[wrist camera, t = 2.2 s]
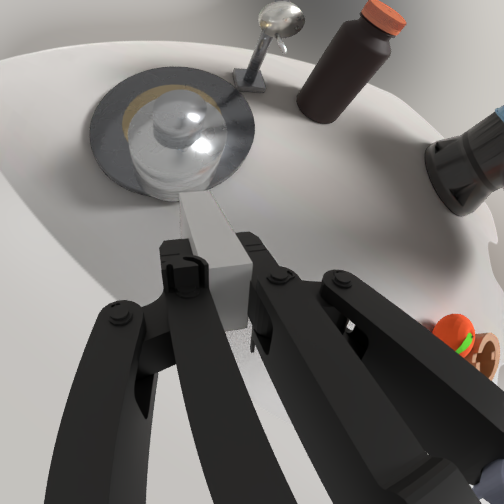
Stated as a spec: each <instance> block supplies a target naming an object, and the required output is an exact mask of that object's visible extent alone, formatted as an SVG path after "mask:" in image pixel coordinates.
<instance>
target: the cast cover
mask: <svg viewBox="0 0 504 504" xmlns="http://www.w3.org/2000/svg"><path fill="white" fill-rule="evenodd" d="M226 140H227V126H226V123H225V120H224V118H223V117H222V115H221V114H220V112H219V111H218V110H217V109H216V108H215V107H214V106H212V105H211V104H210V103H208V102H206V101H204V99H203V98H202V97H201V96H200V95H198V94H196V93H195V92H192V91H189V90H172V91H169V92H166V93H164V94H162V95H161V96H160V97H158V98H157V99H155V100H152V101H151V102H149V103H147V104H146V105H144V106H143V107H142V108H141V109H139V110H138V111H137V113H136V114H135V115H134V117H133V118H132V120H131V122H130V125H129V128H128V143H129V149H130V155H131V160H132V166H133V171H134V176H135V178H136V181H137V183H138V184H139V186H140V187H141V188H142V189H143V190H144V191H145V192H146V193H148V194H149V195H150V196H152V197H154V198H157V199H160V200H164V201H172V202H174V201H180V199H179V193H183V192H197V191H204V190H205V189H206V188H207V187H208V186H209V185H210V183H211V182H212V180H213V178H214V176H215V173H216V170H217V167H218V164H219V161H220V158H221V155H222V152H223V149H224V146H225V143H226Z"/></svg>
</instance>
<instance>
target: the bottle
mask: <svg viewBox="0 0 504 504" xmlns="http://www.w3.org/2000/svg"><path fill="white" fill-rule="evenodd" d="M360 16H361V17H360V18H359V20H352V21H346V22H344V23H343V24H342V26H341V27H340V29H339V30H338V32H337V33H336V35H335V36H334V38H333V39H332V41H331V43H330V44H329V46H328V47H327V49H326V50H325V52H324V54H323V55H322V57H321V58H320V60H319V62H318V63H317V65H316V66H315V68H314V69H313V71H312V73H311V74H310V76H309V77H308V79H307V81H306V82H305V84H304V86H303V87H302V89H301V90H300V92H299V94H298V95H297V104H298V107H299V108H300V109H301V111H302V112H303V113H304V114H305V115H306V116H307V117H309V118H310V119H312V120H314V121H316V122H319V123H324V124H328V123H332V122H334V121H335V120H336V119H337V118H338V117H339V116H340V114H341V113H342V112H343V111H344V110H345V108H346V107H347V106H348V105H349V104H350V102H351V101H352V100H353V99H354V98H355V97H356V95H357V94H358V93H359V92H360V91H361V89H362V88H363V87H364V86H365V85H366V84H367V82H368V81H369V80H370V79H371V78H372V77H373V75H374V74H375V73H376V71H378V69H379V68H380V67H381V66H382V65H383V64H384V63H385V61H386V60H387V59H388V58H389V56H390V54H391V48H390V43H389V40H390V39H391V38H394V37H395V36H396V35H398V34H399V32H400V31H401V30H402V29H403V28H404V26H405V25H406V22H405V20H404V18H403V17H402V16H401V15H399V14H398V13H397V12H396V11H395V10H393V9H392V8H391V7H389V6H387V5H386V4H384V3H382V2H380V1H378V0H368V2H367V3H366V5H365V6H364V8H363V9H362V11H361V13H360Z"/></svg>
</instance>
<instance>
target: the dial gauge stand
mask: <svg viewBox="0 0 504 504" xmlns="http://www.w3.org/2000/svg"><path fill="white" fill-rule="evenodd" d="M258 21H259V24H260V27H261V29H262V32H261V35H260V37H259V40H258V42H257V45H256V47H255V50H254V52H253V55H252V57H251V60H250V63H249V65H248V68H247V69H235V68H234V70H233V77H234V82H235V86H236V89H237V90H238V91H248V92H263V93H264V91H265V89H266V87H265V83H264V80H263V77H262V74H261V71H260V70H259V69H260V67H261V65H262V62H263V60H264V58H265V55H266V53H267V50H268V48H269V46H270V44H271V42H272V39H273V38H276V40H277V42H278V44H279V47H280V49H281V51H282V53H284V54H285V53H287V49H286V47H285V45H284V43H283V41H282V38H287V37H291V36H293V35H295V34H297V33H298V32H299V31H300V30H301V29H302V28H303V26H304V23H305V18H304V15H303V14H302V12H301V10H300V9H299V8H298V7H297V6H296V5H295V4H293V3H291V2H290V1H289V0H275V2H273V3H270V4H268V5H267V6H265V7H264V8H263V9H262V10H261V11H260V13H259V16H258Z"/></svg>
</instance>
